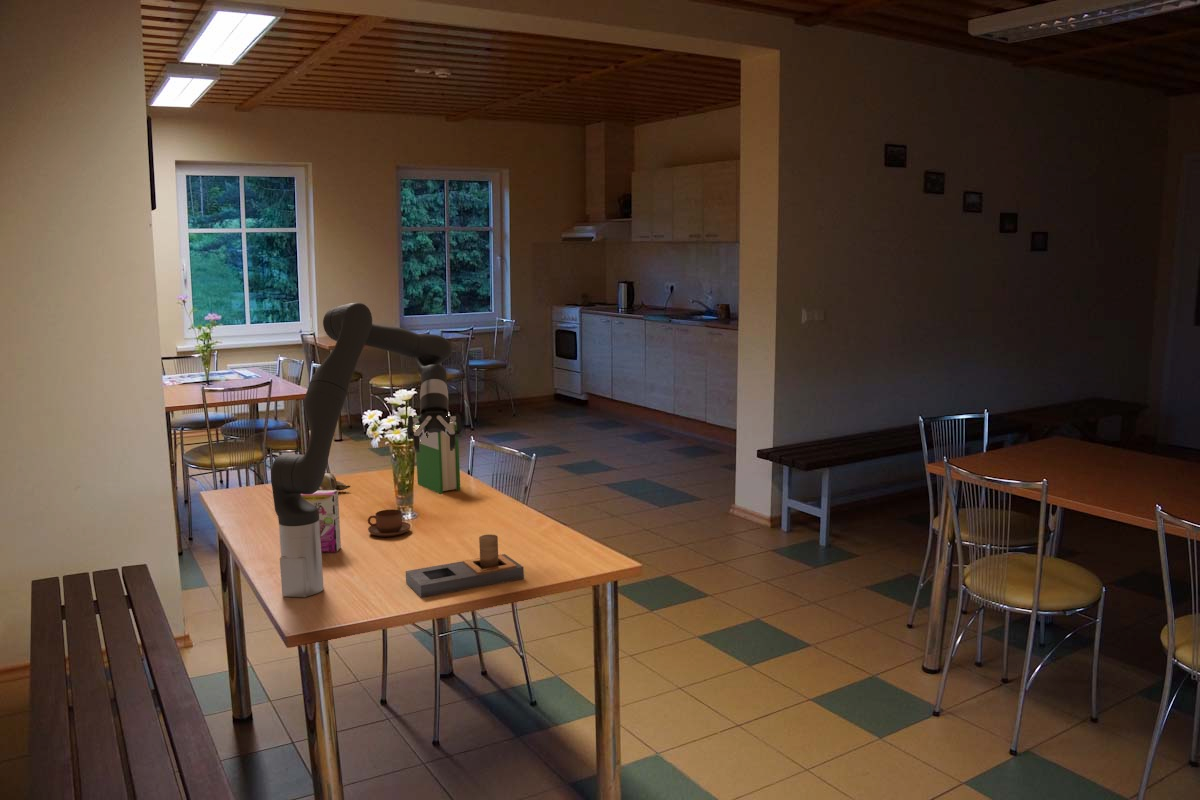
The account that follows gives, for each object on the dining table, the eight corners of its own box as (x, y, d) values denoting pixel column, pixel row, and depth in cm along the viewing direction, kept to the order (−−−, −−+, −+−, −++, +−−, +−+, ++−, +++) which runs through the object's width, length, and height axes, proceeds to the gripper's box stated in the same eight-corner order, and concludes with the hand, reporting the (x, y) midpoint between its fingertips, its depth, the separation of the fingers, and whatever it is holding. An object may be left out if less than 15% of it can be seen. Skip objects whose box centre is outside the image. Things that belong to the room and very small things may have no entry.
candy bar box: (295, 554, 260) (291, 494, 258) (300, 548, 265) (296, 490, 263) (337, 553, 261) (333, 493, 258) (341, 547, 266) (338, 489, 263)
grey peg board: (421, 597, 225) (420, 583, 225) (406, 582, 236) (405, 569, 235) (523, 578, 237) (523, 565, 237) (505, 565, 248) (504, 552, 247)
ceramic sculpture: (318, 463, 333) (351, 469, 326) (318, 487, 335) (352, 494, 328) (295, 469, 324) (329, 476, 317) (296, 494, 326) (329, 501, 319)
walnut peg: (495, 579, 237) (494, 540, 236) (478, 578, 238) (476, 539, 237) (501, 573, 241) (499, 534, 240) (484, 572, 242) (482, 534, 241)
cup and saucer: (369, 541, 271) (367, 520, 270) (367, 529, 283) (366, 509, 282) (412, 537, 274) (411, 516, 274) (409, 526, 286) (408, 505, 285)
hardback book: (460, 490, 327) (457, 420, 324) (440, 493, 323) (437, 423, 319) (437, 481, 341) (434, 414, 338) (417, 484, 337) (414, 416, 334)
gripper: (406, 392, 258) (406, 443, 248) (460, 390, 260) (462, 440, 250) (408, 409, 264) (408, 459, 254) (461, 407, 266) (462, 456, 256)
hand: (434, 449), depth 252 cm, fingers open, 8 cm apart
